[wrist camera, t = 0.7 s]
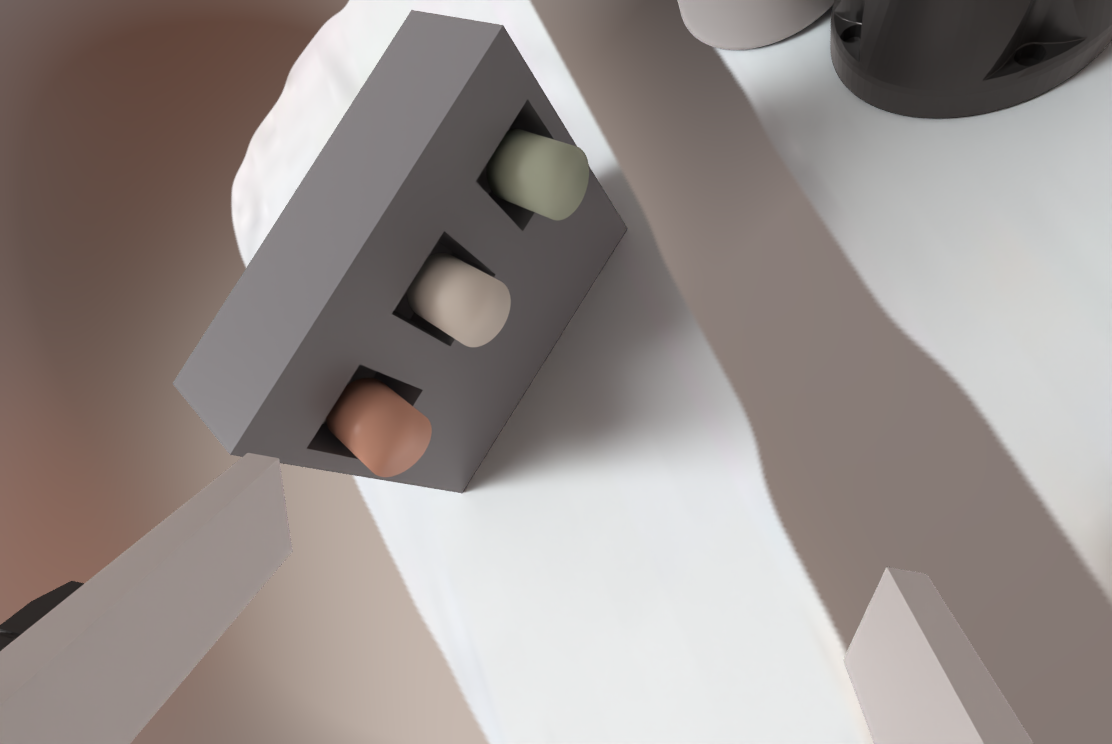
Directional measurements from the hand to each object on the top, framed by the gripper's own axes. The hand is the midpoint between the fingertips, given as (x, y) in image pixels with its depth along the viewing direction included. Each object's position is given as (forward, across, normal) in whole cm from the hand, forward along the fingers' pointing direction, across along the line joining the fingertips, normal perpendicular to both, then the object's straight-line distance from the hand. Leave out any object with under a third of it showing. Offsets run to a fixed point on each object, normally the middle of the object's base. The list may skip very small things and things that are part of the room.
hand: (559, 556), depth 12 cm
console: (+29, -7, -7) cm, 31 cm away
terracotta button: (+16, -11, -8) cm, 21 cm away
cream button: (+19, -7, -2) cm, 21 cm away
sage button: (+23, -4, +5) cm, 24 cm away
